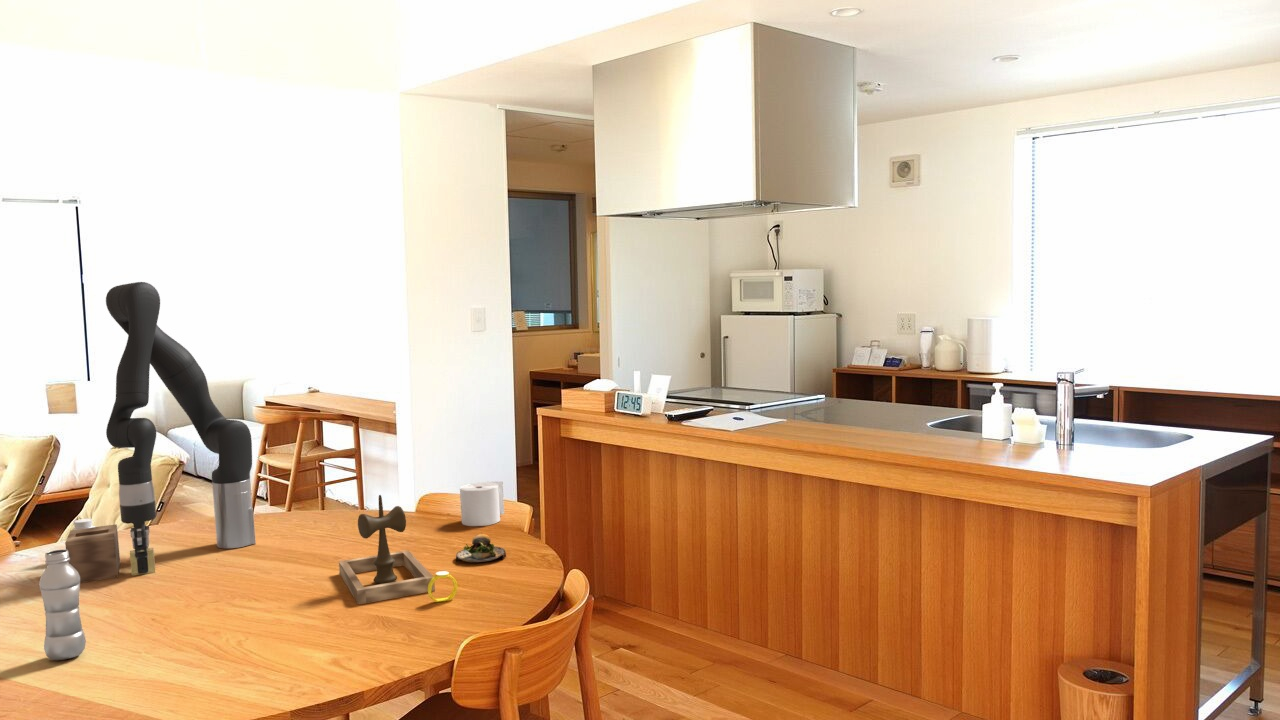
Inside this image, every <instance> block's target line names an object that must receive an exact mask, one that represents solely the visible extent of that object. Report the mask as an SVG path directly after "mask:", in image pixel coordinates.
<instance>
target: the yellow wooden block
mask: <svg viewBox="0 0 1280 720" xmlns="http://www.w3.org/2000/svg"><path fill="white" fill-rule="evenodd" d="M154 550H155V549H154V547H148V548H147V553H148V557H147V560H148V572H147V573H142V574H139V573H138V567H137V559H136V557H135V549H133V550H129V558H130V559H129V560H130V571H131V572H130V573H131V576H139V575H146V574H152V573H153V574H154V573H156V563H155V551H154ZM138 552H144V550H139V551H138Z"/></svg>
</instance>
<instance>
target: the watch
mask: <svg viewBox="0 0 1280 720" xmlns="http://www.w3.org/2000/svg"><path fill="white" fill-rule="evenodd" d="M446 578H450V579H451V580H452V582H453V583H452V584H453V589H452V591H451V593H450V594H449V595H448V596H447V597H442V598H435V597H434V596H433V592H431V590H432V585H433V583H434V584H435V582H436V581H437V580H439V579H446ZM457 592H458V582H457V580H456V578H455V577H453V576H452V575H451V574H450V572H449V571H444V570H443V571H442V570H441V571H437V572H435V575H433V578H432V579H431V581H430V582H429V585H428V592H427V593H428V596H429V597H430V599H432V600H433V601H434V602H436V603H441V602H449V601H452V600H453V598H454V597H455V596H456V594H457Z"/></svg>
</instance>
